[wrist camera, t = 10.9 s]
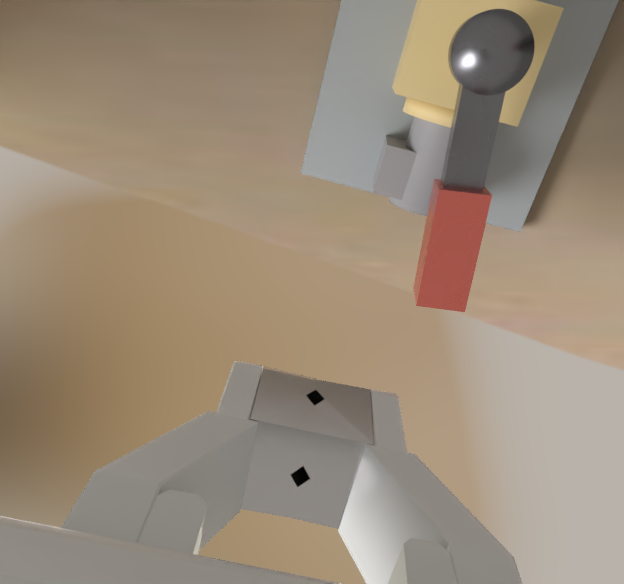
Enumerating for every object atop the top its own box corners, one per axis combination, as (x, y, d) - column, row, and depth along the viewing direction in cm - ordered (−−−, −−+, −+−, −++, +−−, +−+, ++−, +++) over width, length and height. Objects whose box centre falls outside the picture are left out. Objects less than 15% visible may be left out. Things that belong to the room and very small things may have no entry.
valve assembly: (516, 227, 40) (557, 279, 31) (302, 170, 40) (281, 205, 31) (652, -97, 31) (763, -156, 22) (382, -170, 31) (386, -258, 22)
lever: (404, 287, 32) (407, 304, 30) (455, 7, 26) (462, 3, 24) (467, 295, 32) (474, 313, 30) (532, 15, 26) (547, 12, 24)
